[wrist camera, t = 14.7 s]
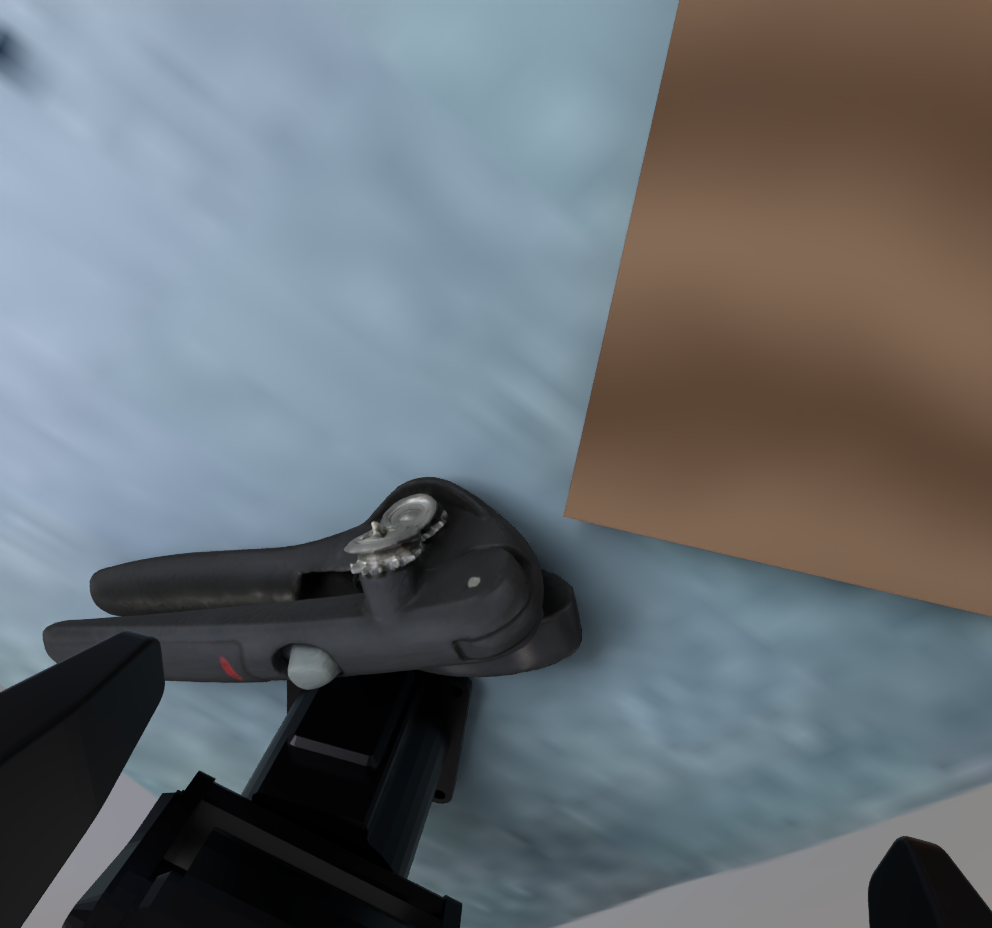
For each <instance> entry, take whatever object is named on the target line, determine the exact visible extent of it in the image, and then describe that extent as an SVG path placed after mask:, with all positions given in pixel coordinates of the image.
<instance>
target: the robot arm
mask: <svg viewBox="0 0 992 928" xmlns="http://www.w3.org/2000/svg"><path fill="white" fill-rule="evenodd" d="M454 686H457V687H459V688H456V687H454ZM164 687H165V677H164V669H163V660H162V652H161V645H160V642H159V640H158V639H157V638H156V637H154V636H152V635H148V634H144V633H140V632H137V631H132V630H126V631H122V632H119V633H117V634H115V635H113V636H111V637H109V638H107V639H105V640H103V641H101V642H99V643H97V644H95V645H93V646H91V647H89V648H87V649H85V650H83V651H81V652H79V653H77V654H75V655H73V656H71V657H69V658H67V659H65V660H63V661H61V662H59V663H57V664H55V665H53V666H51V667H49V668H47V669H45V670H43V671H41V672H39V673H37V674H35V675H33V676H31V677H29V678H27V679H25V680H23V681H21V682H19V683H17V684H15V685H13V686H11V687H9V688H7V689H5V690H4V691H2V692H0V928H21V926H22V925H23V923H24V922H25V920H26V919H27V918H28V916H29V914H30V913H31V912H32V910H33V909H34V907H35V906H36V904H37V903H38V901H39V900H40V899H41V897H42V895H43V894H44V893H45V891H46V890H47V888H48V887H49V885H50V884H51V883H52V881H53V880H54V878H55V877H56V875H57V874H58V872H59V871H60V869H61V868H62V866H63V865H64V864H65V862H66V861H67V859H68V858H69V856H70V855H71V853H72V852H73V850H74V849H75V847H76V846H77V845H78V843H79V841H80V840H81V839H82V837H83V836H84V834H85V833H86V831H87V830H88V828H89V827H90V825H91V824H92V822H93V821H94V819H95V818H96V816H97V814H98V813H99V811H100V809H101V808H102V806H103V804H104V803H105V801H106V799H107V797H108V796H109V794H110V792H111V790H112V788H113V787H114V785H115V783H116V781H117V779H118V777H119V776H120V774H121V772H122V770H123V768H124V767H125V765H126V763H127V761H128V759H129V757H130V756H131V754H132V752H133V750H134V748H135V746H136V745H137V743H138V741H139V739H140V737H141V736H142V734H143V732H144V730H145V728H146V726H147V725H148V723H149V721H150V719H151V717H152V715H153V714H154V712H155V710H156V708H157V706H158V704H159V703H160V700H161V698H162V695H163V692H164ZM471 692H472V682H471V680H470V678H469V677H456V676H448V675H442V674H441V675H439V674H435V673H429V672H424V671H421V670H409V671H397V672H388V673H378V674H367V675H356V676H346V677H335V678H334V679H333V680H332V681H330V682H329V683H328V684H326V685H324V686H322V687H319V688H316V689H311V690H306V689H302V688H300V687H298V686H296V685H295V684H294V683H293V682H292V681H291V680H287V715H286V717H285V719H284V721H283V722H282V724H281V726H280V728H279V729H278V731H277V733H276V735H275V736H274V738H273V740H272V742H271V743H270V745H269V747H268V749H267V750H266V752H265V754H264V756H263V757H262V759H261V761H260V763H259V764H258V766H257V768H256V770H255V771H254V773H253V775H252V777H251V778H250V780H249V782H248V784H247V785H246V787H245V789H244V791H243V792H242V794H241V795H240V794H238V793H236V792H234V791H232V790H230V789H228V788H226V787H224V786H222V785H220V784H218V783H216V782H214V781H215V778H213V777H211V776H209V775H207V774H206V773H204V772H202V771H200V770H199V771H198V773H197V774H196V775H195V777H194V778H193V780H192V781H191V782H190V784H189V785H188V787H187V788H186V789H185V791H184V790H182V792H181V791H179V790H177V792H175V793H162V795H161V796H160V798H159V799H158V801H157V802H156V804H155V805H154V807H153V808H152V810H151V811H150V813H149V814H148V816H147V817H146V819H145V820H144V821H143V823H142V824H141V826H140V827H139V829H138V830H137V832H136V833H135V835H134V836H133V837H132V839H131V840H130V841H129V843H128V844H127V845H126V846H125V848H124V849H123V850H122V851H121V852H120V854H119V855H118V856H117V857H116V858H115V859H114V861H113V862H112V863H111V864H110V865H109V866H108V868H107V869H106V870H105V871H104V872H103V873H102V875H101V876H100V877H99V878H98V879H97V880H96V881H95V883H94V884H93V885H92V886H91V887H90V888H89V890H88V891H87V892H86V893H85V894H84V895H83V896H82V898H81V899H80V900H79V901H78V902H77V904H76V905H75V906H74V908H73V909H72V911H71V912H70V914H69V915H68V917H67V918H66V920H65V922H64V924H63V926H62V928H460V922H461V912H462V903H461V902H459V901H457V900H455V899H453V898H451V897H449V896H447V895H445V896H444V897H442V896H440V895H438V894H436V893H434V892H432V891H430V890H428V889H426V888H424V887H422V886H420V885H418V884H416V883H414V882H412V881H410V880H408V879H407V878H408V874H409V871H410V868H411V865H412V862H413V859H414V856H415V853H416V850H417V846H418V843H419V840H420V837H421V834H422V831H423V828H424V825H425V821H426V818H427V815H428V812H429V809H430V806H431V803H432V802H436V803H441V804H444V803H448V802H450V801H451V799H452V796H453V793H454V789H455V783H456V778H457V772H458V766H459V761H460V755H461V749H462V743H463V738H464V732H465V726H466V720H467V715H468V709H469V703H470V697H471ZM868 906H869V907H868V908H869V924H870V928H992V911H991V910H990V908H989V907H988V906H987V904H986V903H985V902H984V901H983V899H982V898H981V897H980V895H979V894H978V893H977V891H976V890H975V889H974V888H973V886H972V885H971V884H970V882H969V881H968V880H967V879H966V877H965V876H964V875H963V873H962V872H961V871H960V869H959V868H958V867H957V866H956V864H955V863H954V862H953V860H952V859H951V858H950V857H949V855H948V854H947V853H946V852H945V851H944V850H943V849H942V848H941V847H940V846H938V845H936V844H934V843H930V842H927V841H923V840H920V839H916V838H912V837H908V836H902V837H900V838H898V839H896V841H895V842H894V843H893V844H892V846H891V847H890V849H889V850H888V852H887V853H886V855H885V856H884V858H883V859H882V861H881V862H880V864H879V865H878V867H877V869H876V870H875V871H874V873H873V875H872V877H871V879H870V882H869V887H868Z"/></svg>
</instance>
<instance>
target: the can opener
mask: <svg viewBox="0 0 992 928" xmlns="http://www.w3.org/2000/svg"><path fill="white" fill-rule="evenodd" d="M90 593H91V596H92V599H93V601H94V603H95V604H96V605H97V606H98V607H99V608H100V609H102V610H103V611H105V612H107V613H109V614H112V615H116V616H122V617H110V618H97V619H82V620H67V621H61V622H57V623H54V624H52V625H50V626H48V627H47V628H45V630H44V631H43V642H44V646H45V650H46V652H47V654H48V655H49V656H50V657H51V658H52V659H53V660H54V661H55V662H56V663H59V662H61V661H63V660H65V659H67V658H69V657H71V656H73V655H75V654H77V653H79V652H81V651H83V650H85V649H87V648H89V647H91V646H93V645H95V644H97V643H99V642H101V641H103V640H105V639H107V638H109V637H111V636H113V635H115V634H117V633H119V632H122V631H126V630H132V631H137V632H140V633H144V634H148V635H152V636H154V637H156V638H157V639H158V640H159V642H160V645H161V652H162V660H163V669H164V677H165V681H191V682H222V683H241V682H268V681H271V680H274V681H276V680H291V681H292V682H293V683H294V684H295V685H296V686H298V687H300V688H302V689H306V690H311V689H316V688H319V687H322V686H324V685H326V684H328V683H329V682H330V681H332V680H333V679H334V678H335V677H346V676H356V675H367V674H378V673H388V672H397V671H409V670H421V671H424V672H429V673H435V674H439V675H441V674H442V675H448V676H456V677H490V676H502V675H513V674H517V673H521V672H528V671H532V670H537V669H540V668H544V667H546V666H549V665H552V664H555V663H557V662H559V661H560V660H562V659H564V658H566V657H568V656H571V655H572V654H573V653H574V652H576V650H577V649H578V647H579V646H580V643H581V641H582V629H581V625H580V619H579V613H578V608H577V604H576V600H575V595H574V592H573V588H572V587H571V586H570V585H569V584H568V583H567V582H566V581H564V580H563V579H562V578H561V577H559V576H558V575H556V574H554V573H549V572H547V571H544V570H541V569H540V566H539V563H538V561H537V558H536V556H535V554H534V552H533V551H532V549H531V547H530V546H529V544H528V543H527V541H526V540H525V539H524V537H523V536H522V535H521V534H520V533H519V532H518V531H517V530H516V529H515V528H514V527H513V526H512V525H511V524H510V523H508V522H507V521H506V520H505V519H504V518H503V517H502V516H500V515H499V514H498V513H497V512H496V511H494V510H493V509H492V508H491V507H490V506H488V505H487V504H486V503H484V502H483V501H482V500H481V499H479V498H478V497H476V496H474V495H473V494H471V493H470V492H468V491H467V490H465V489H463V488H462V487H460V486H458V485H456V484H454V483H452V482H450V481H447V480H444V479H440V478H436V477H423V478H417V479H413V480H410V481H408V482H406V483H404V484H402V485H400V486H398V487H397V488H396V489H395V490H394V491H393V492H392V493H391V494H390V495H389V496H388V497H387V498H386V499H385V500H384V501H383V503H382V504H380V506H379V507H378V508H377V509H376V510H375V511H374V513H373V514H372V515H371V516H370V518H369V519H368V520H366V521H365V522H364V523H363V524H361V525H359V526H357V527H354V528H352V529H349V530H347V531H344V532H342V533H339V534H335V535H333V536H330V537H326V538H324V539H321V540H317V541H313V542H309V543H305V544H300V545H296V546H287V547H280V548H265V549H247V550H228V551H211V552H195V553H185V554H175V555H169V556H161V557H155V558H149V559H143V560H138V561H132V562H128V563H124V564H120V565H116V566H112V567H108V568H104V569H101V570H99V571H97V572H96V573H94V574H93V576H92V577H91V579H90Z"/></svg>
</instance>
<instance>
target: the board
mask: <svg viewBox="0 0 992 928" xmlns="http://www.w3.org/2000/svg"><path fill="white" fill-rule="evenodd" d="M563 517H567V518H572V519H576V520H580V521H584V522H589V523H593V524H597V525H602V526H606V527H610V528H614V529H619V530H623V531H627V532H632V533H636V534H640V535H644V536H649V537H653V538H657V539H661V540H666V541H670V542H674V543H679V544H683V545H687V546H691V547H696V548H700V549H704V550H709V551H713V552H717V553H721V554H726V555H730V556H734V557H739V558H743V559H747V560H751V561H756V562H760V563H764V564H768V565H773V566H777V567H781V568H786V569H790V570H794V571H798V572H803V573H807V574H811V575H816V576H820V577H824V578H828V579H833V580H837V581H841V582H845V583H850V584H854V585H858V586H863V587H867V588H871V589H875V590H880V591H884V592H888V593H893V594H897V595H901V596H905V597H910V598H914V599H918V600H923V601H927V602H931V603H935V604H940V605H944V606H948V607H952V608H957V609H961V610H965V611H970V612H974V613H978V614H982V615H987V616H991V617H992V0H679V4H678V9H677V13H676V18H675V22H674V27H673V31H672V36H671V40H670V44H669V49H668V53H667V58H666V62H665V67H664V71H663V76H662V80H661V84H660V89H659V93H658V98H657V102H656V107H655V111H654V116H653V120H652V125H651V129H650V133H649V138H648V142H647V147H646V151H645V156H644V160H643V165H642V169H641V174H640V178H639V182H638V187H637V191H636V196H635V200H634V205H633V209H632V214H631V218H630V223H629V227H628V231H627V236H626V240H625V245H624V249H623V254H622V258H621V263H620V267H619V272H618V276H617V280H616V285H615V289H614V294H613V298H612V303H611V307H610V312H609V316H608V320H607V325H606V329H605V334H604V338H603V343H602V347H601V352H600V356H599V361H598V365H597V369H596V374H595V378H594V383H593V387H592V392H591V396H590V401H589V405H588V410H587V414H586V418H585V423H584V427H583V432H582V436H581V441H580V445H579V450H578V454H577V459H576V463H575V467H574V472H573V476H572V481H571V485H570V490H569V494H568V499H567V503H566V508H565V512H564V516H563Z"/></svg>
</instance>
